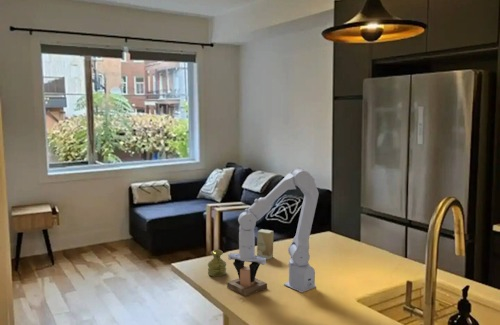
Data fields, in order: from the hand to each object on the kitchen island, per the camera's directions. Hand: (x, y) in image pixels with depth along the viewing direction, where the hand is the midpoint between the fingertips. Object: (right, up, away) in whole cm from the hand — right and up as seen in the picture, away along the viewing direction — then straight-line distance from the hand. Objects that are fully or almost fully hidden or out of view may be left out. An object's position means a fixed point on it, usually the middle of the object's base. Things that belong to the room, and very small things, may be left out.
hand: (247, 280), depth 164 cm
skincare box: (+8, +1, +34) cm, 35 cm away
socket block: (0, -3, 0) cm, 3 cm away
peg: (0, -2, 0) cm, 3 cm away
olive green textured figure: (-12, -1, +15) cm, 19 cm away
